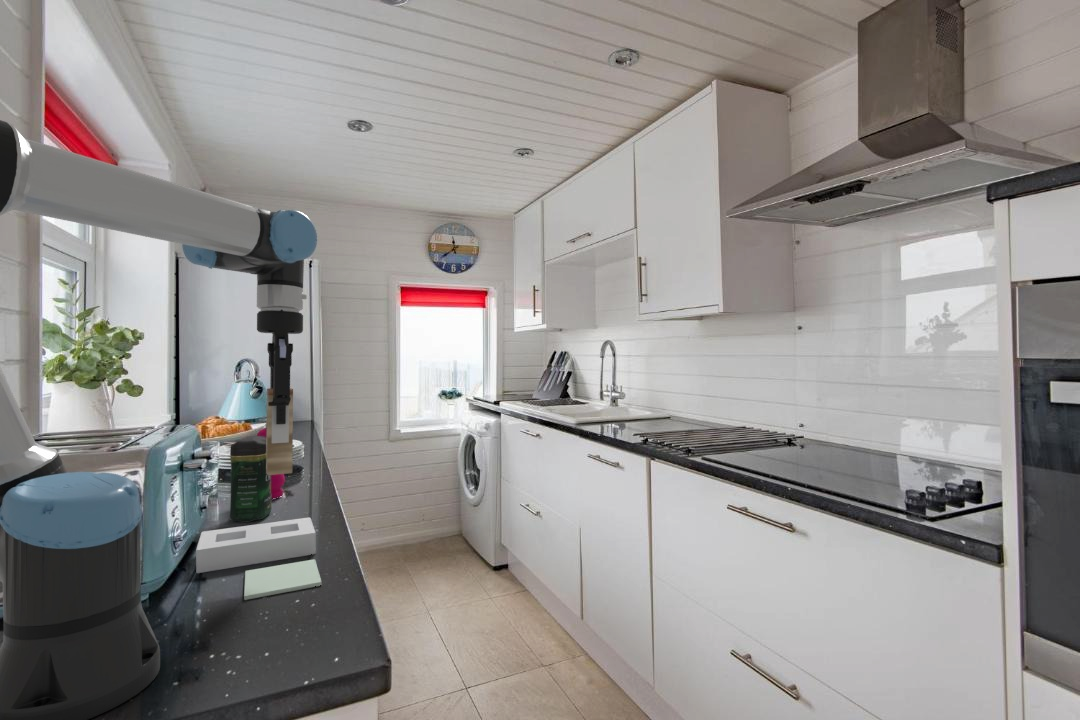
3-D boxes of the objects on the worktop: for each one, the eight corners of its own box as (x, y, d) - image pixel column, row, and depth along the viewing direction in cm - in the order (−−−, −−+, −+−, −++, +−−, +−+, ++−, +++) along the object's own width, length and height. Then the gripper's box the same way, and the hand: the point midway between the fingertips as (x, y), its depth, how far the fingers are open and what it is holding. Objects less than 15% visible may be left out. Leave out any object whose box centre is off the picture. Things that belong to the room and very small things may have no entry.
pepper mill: (291, 495, 145) (290, 420, 145) (270, 502, 138) (269, 423, 138) (269, 493, 147) (268, 419, 147) (247, 500, 140) (247, 422, 140)
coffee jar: (264, 522, 122) (263, 439, 121) (225, 524, 120) (224, 440, 120) (276, 510, 131) (275, 433, 131) (240, 512, 129) (239, 434, 129)
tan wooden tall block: (292, 473, 97) (293, 389, 97) (267, 475, 95) (268, 389, 95) (290, 469, 100) (291, 388, 100) (266, 471, 98) (266, 388, 98)
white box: (315, 553, 102) (315, 532, 102) (196, 573, 93) (196, 550, 93) (310, 536, 111) (310, 517, 111) (202, 552, 103) (201, 531, 103)
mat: (321, 585, 88) (321, 581, 88) (244, 600, 83) (244, 596, 83) (314, 562, 97) (314, 559, 97) (245, 574, 92) (245, 570, 92)
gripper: (308, 308, 92) (307, 445, 92) (298, 315, 107) (297, 434, 107) (258, 305, 88) (257, 449, 88) (255, 313, 103) (254, 436, 103)
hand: (279, 440), depth 97 cm, fingers closed on tan wooden tall block, 4 cm apart
